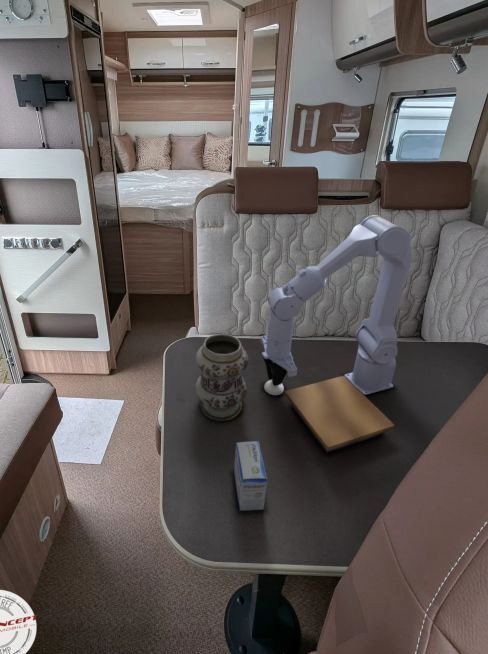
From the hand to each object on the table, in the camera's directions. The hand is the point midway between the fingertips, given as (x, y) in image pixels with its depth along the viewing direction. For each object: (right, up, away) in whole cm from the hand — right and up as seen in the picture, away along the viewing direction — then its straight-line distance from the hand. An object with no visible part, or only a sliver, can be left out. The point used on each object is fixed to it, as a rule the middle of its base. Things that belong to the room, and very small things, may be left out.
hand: (274, 381), depth 92 cm
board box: (+12, -7, -8) cm, 16 cm away
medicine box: (-9, -15, -24) cm, 29 cm away
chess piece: (0, -2, +1) cm, 3 cm away
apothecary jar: (-14, -5, -4) cm, 15 cm away
